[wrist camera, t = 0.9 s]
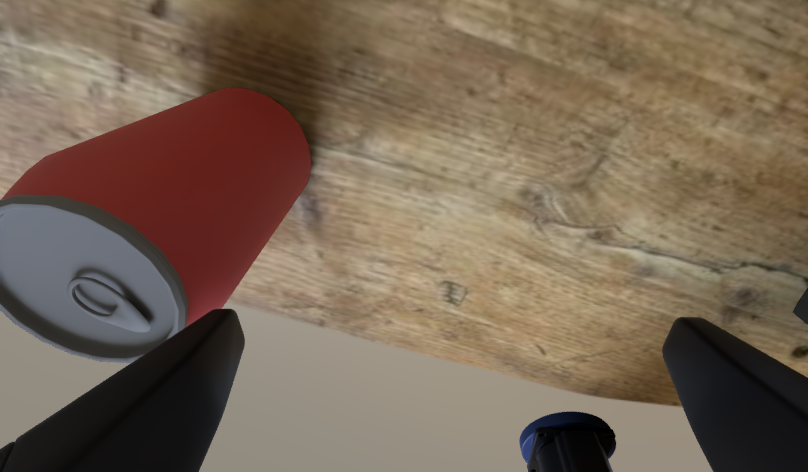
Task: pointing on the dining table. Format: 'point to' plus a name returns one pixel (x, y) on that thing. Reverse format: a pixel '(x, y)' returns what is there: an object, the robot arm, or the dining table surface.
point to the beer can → (148, 223)
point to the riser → (802, 308)
